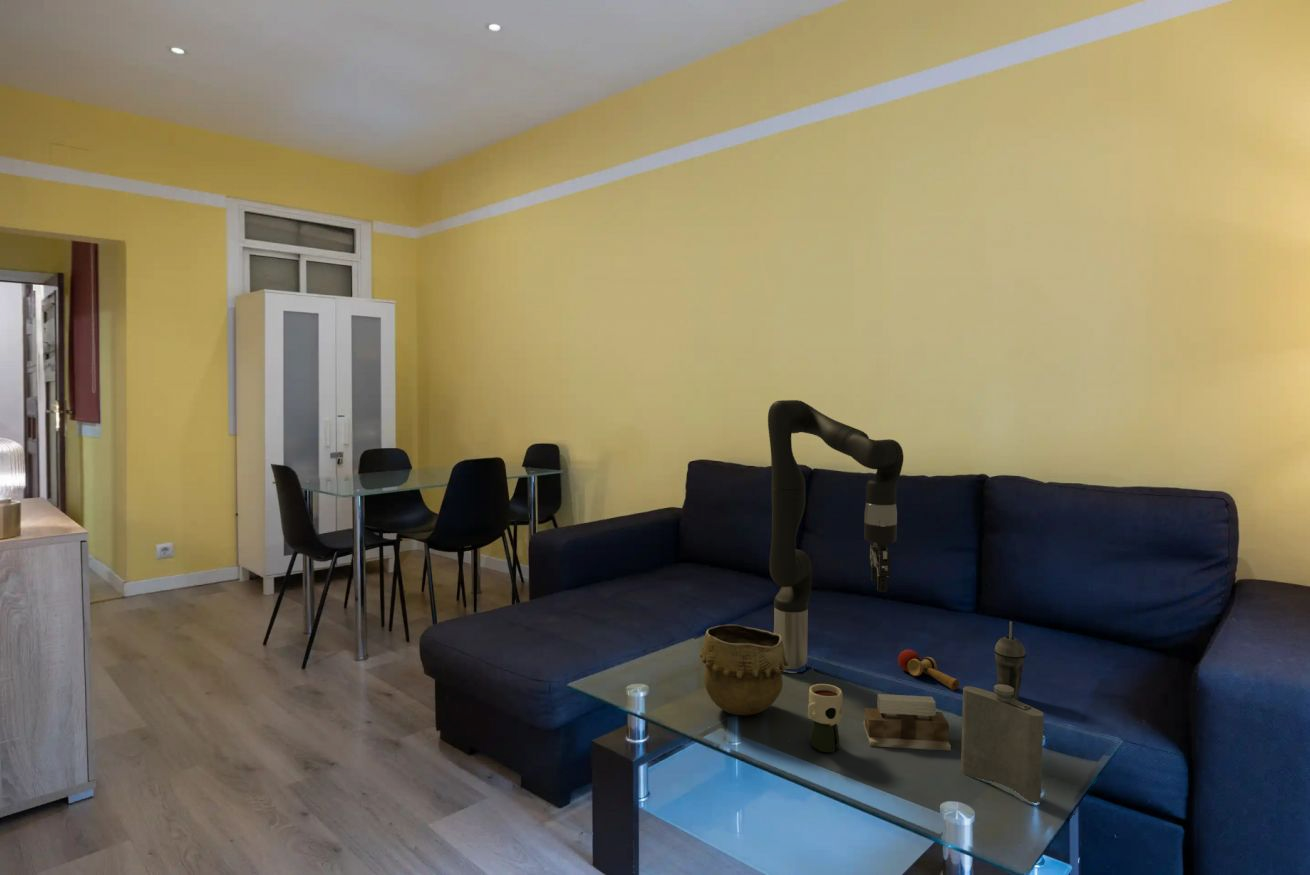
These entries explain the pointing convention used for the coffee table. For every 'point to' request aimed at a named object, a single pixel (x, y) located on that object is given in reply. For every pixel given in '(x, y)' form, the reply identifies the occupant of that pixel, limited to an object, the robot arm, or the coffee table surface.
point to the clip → (906, 706)
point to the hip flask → (1002, 740)
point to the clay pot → (743, 668)
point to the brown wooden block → (906, 731)
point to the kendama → (924, 668)
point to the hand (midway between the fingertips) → (879, 586)
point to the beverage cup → (1010, 662)
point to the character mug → (825, 716)
